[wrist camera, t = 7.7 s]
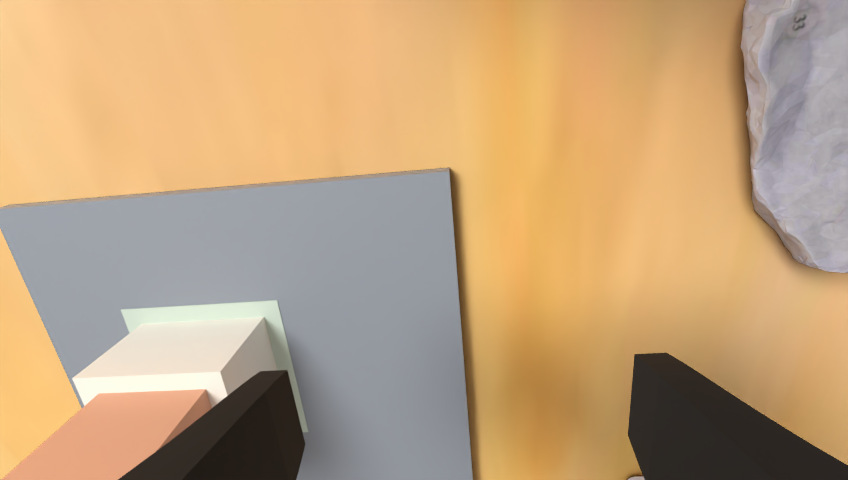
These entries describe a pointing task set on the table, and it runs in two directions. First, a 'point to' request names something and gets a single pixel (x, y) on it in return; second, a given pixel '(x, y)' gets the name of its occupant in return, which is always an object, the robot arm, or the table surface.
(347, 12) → the table surface
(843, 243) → the stone block
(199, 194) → the board
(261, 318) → the cream base block
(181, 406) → the orange cube
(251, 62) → the table surface
